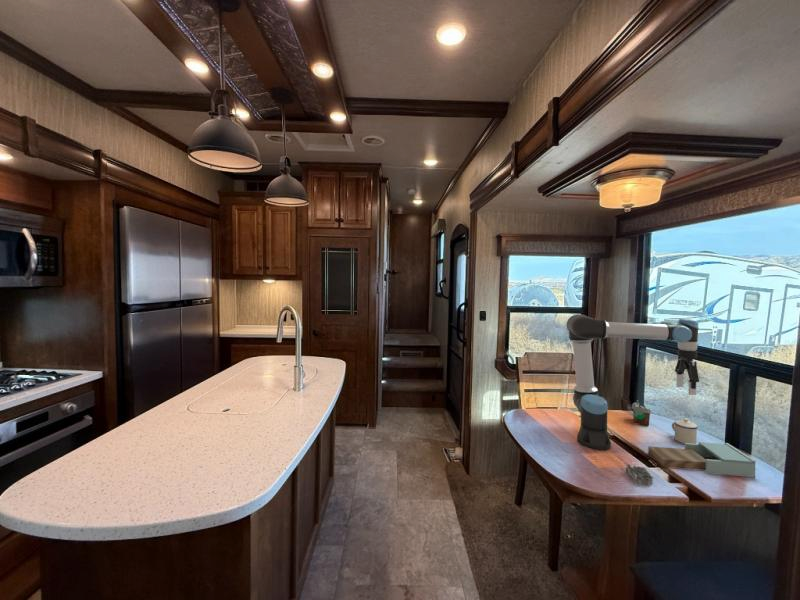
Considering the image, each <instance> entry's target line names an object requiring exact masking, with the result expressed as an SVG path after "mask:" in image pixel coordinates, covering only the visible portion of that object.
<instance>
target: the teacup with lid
mask: <svg viewBox="0 0 800 600" xmlns="http://www.w3.org/2000/svg"><path fill="white" fill-rule="evenodd" d="M671 428H672V431H673V432H674V440H675V441H677V442H679V443H681V444H684V445H685V443H690V444H698V443H697V440H698V439H697V434H698V433H697V432H698V428H699V427H698V425H697V424H696V423H694V422H692V421H690V420H689V419H688V418H686V417H684V418H683V419H678V420H675V421H674V422H672V423H671Z"/></svg>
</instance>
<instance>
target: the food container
mask: <svg viewBox="0 0 800 600" xmlns="http://www.w3.org/2000/svg"><path fill="white" fill-rule="evenodd" d="M631 409H632V412H633V413H632V415H633V422H634V423H635V424H637V425H639V426H643V427H644V426H645V427H649V426H650V418H651V417H650V416H651V413H652V412H651V409H649V408H648V409H647V407H645V406H643V405H641V404H640V402H633V403H632V404H631Z"/></svg>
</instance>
